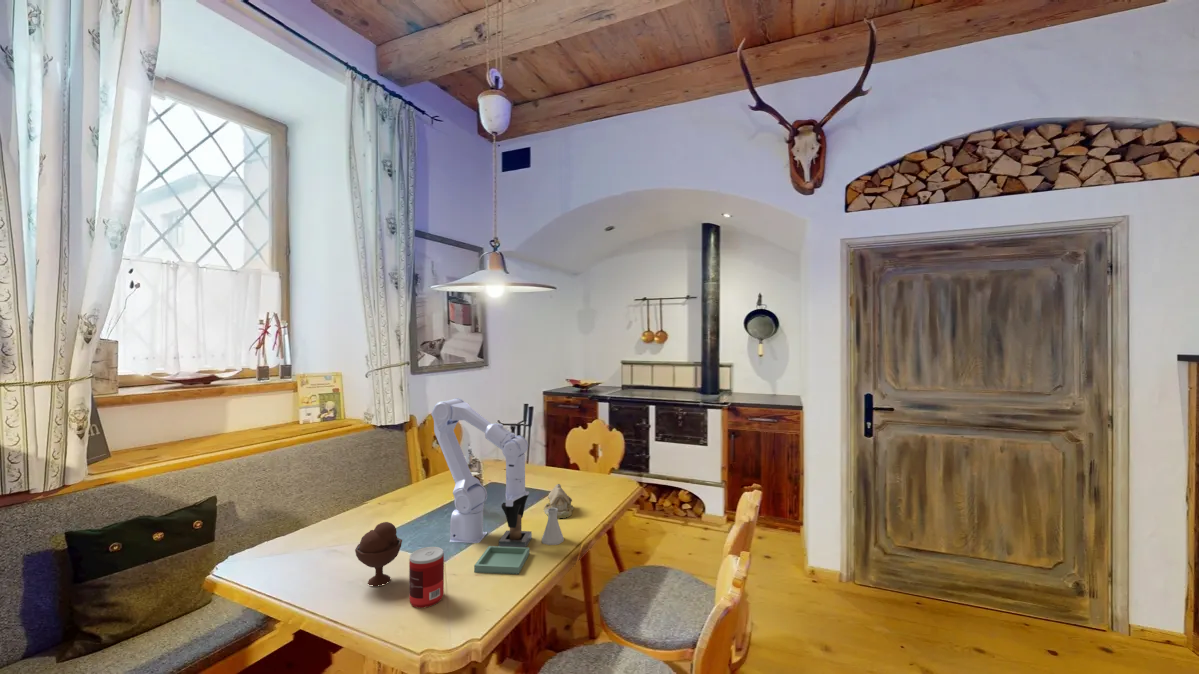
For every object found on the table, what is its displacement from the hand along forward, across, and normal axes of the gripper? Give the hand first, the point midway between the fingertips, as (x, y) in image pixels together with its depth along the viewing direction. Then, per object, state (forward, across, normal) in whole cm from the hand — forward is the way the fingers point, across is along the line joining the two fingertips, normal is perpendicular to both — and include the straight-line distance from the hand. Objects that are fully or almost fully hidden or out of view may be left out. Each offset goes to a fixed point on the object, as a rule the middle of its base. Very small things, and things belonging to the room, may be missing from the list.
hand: (515, 522), depth 145 cm
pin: (+6, 0, 0) cm, 6 cm away
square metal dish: (+7, 0, 0) cm, 7 cm away
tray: (+7, -13, 0) cm, 15 cm away
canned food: (+7, -32, +13) cm, 35 cm away
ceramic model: (+7, +28, -8) cm, 30 cm away
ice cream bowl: (+7, -25, +29) cm, 39 cm away
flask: (+7, +3, -11) cm, 13 cm away
